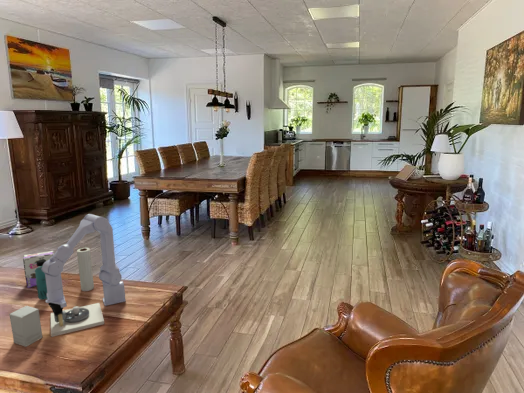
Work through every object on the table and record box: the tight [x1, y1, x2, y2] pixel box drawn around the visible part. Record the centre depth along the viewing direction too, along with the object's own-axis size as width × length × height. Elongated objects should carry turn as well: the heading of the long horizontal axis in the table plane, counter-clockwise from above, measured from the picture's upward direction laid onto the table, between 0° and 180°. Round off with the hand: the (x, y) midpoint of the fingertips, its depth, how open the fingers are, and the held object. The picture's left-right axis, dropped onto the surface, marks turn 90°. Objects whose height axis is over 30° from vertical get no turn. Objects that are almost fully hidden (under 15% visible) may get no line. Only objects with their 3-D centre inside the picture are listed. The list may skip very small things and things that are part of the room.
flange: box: [54, 308, 89, 323], centre depth 163 cm, size 14×10×4 cm
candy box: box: [22, 250, 55, 289], centre depth 199 cm, size 14×6×16 cm, turn 117°
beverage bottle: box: [35, 260, 48, 300], centre depth 182 cm, size 6×7×20 cm
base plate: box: [50, 302, 105, 338], centre depth 165 cm, size 20×18×6 cm
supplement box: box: [9, 305, 43, 348], centre depth 150 cm, size 7×7×13 cm
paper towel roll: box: [76, 246, 95, 292], centre depth 193 cm, size 7×6×21 cm
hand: (58, 317), depth 161 cm, fingers closed
